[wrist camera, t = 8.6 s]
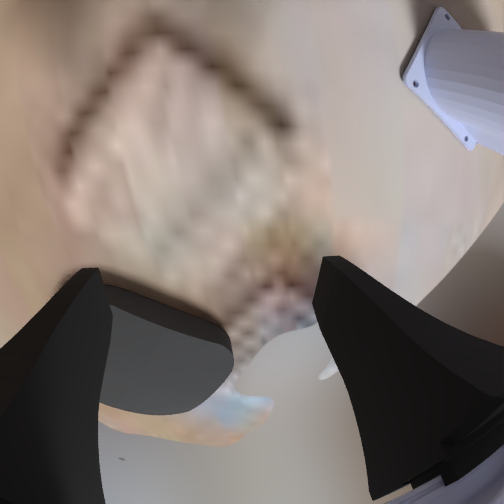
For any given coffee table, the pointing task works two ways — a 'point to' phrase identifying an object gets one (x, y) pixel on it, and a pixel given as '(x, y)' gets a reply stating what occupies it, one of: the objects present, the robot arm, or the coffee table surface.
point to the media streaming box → (161, 357)
